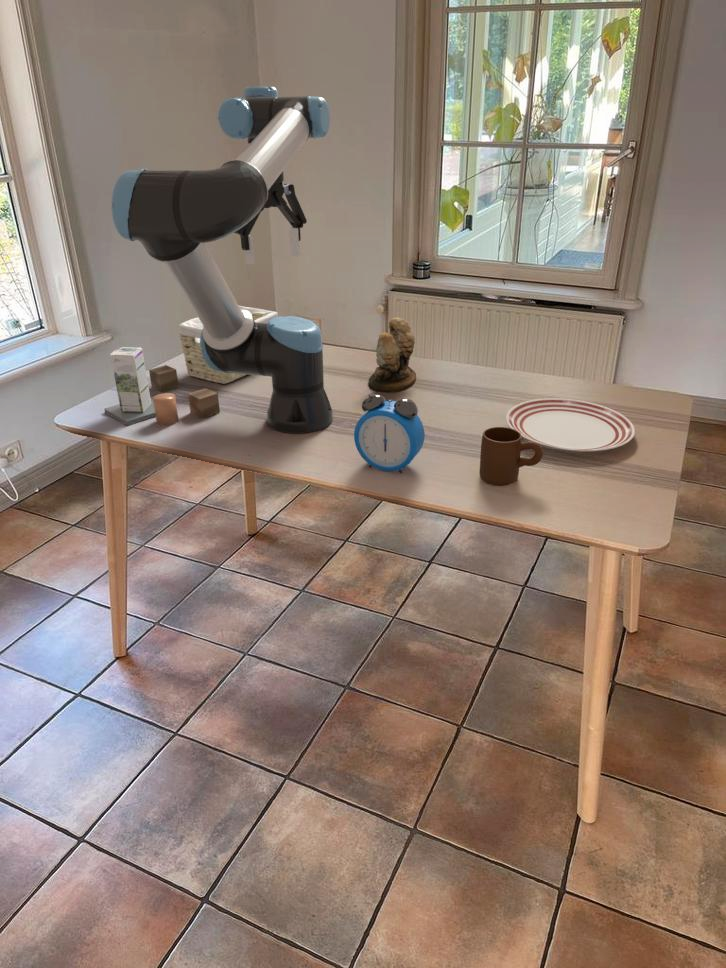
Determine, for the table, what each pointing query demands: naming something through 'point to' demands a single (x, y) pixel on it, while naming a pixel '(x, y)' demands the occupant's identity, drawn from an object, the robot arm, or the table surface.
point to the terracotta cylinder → (165, 409)
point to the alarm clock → (389, 432)
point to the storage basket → (192, 349)
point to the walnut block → (204, 403)
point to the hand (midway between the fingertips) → (273, 259)
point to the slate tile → (130, 414)
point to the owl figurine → (394, 358)
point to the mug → (505, 455)
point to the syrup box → (131, 379)
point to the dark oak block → (163, 378)
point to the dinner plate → (570, 425)
